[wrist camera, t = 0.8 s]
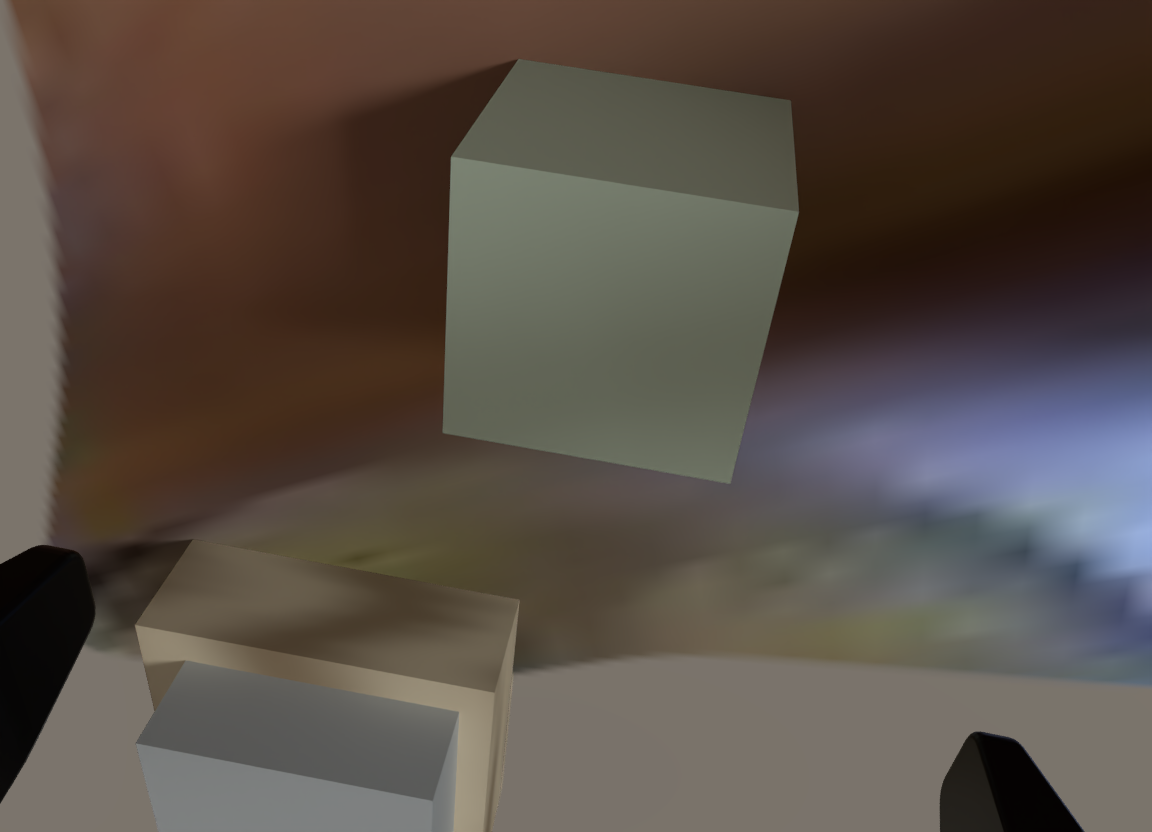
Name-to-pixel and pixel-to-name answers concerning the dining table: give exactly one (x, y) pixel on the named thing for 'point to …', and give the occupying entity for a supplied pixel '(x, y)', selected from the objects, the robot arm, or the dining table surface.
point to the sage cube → (615, 266)
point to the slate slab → (295, 757)
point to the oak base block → (346, 645)
